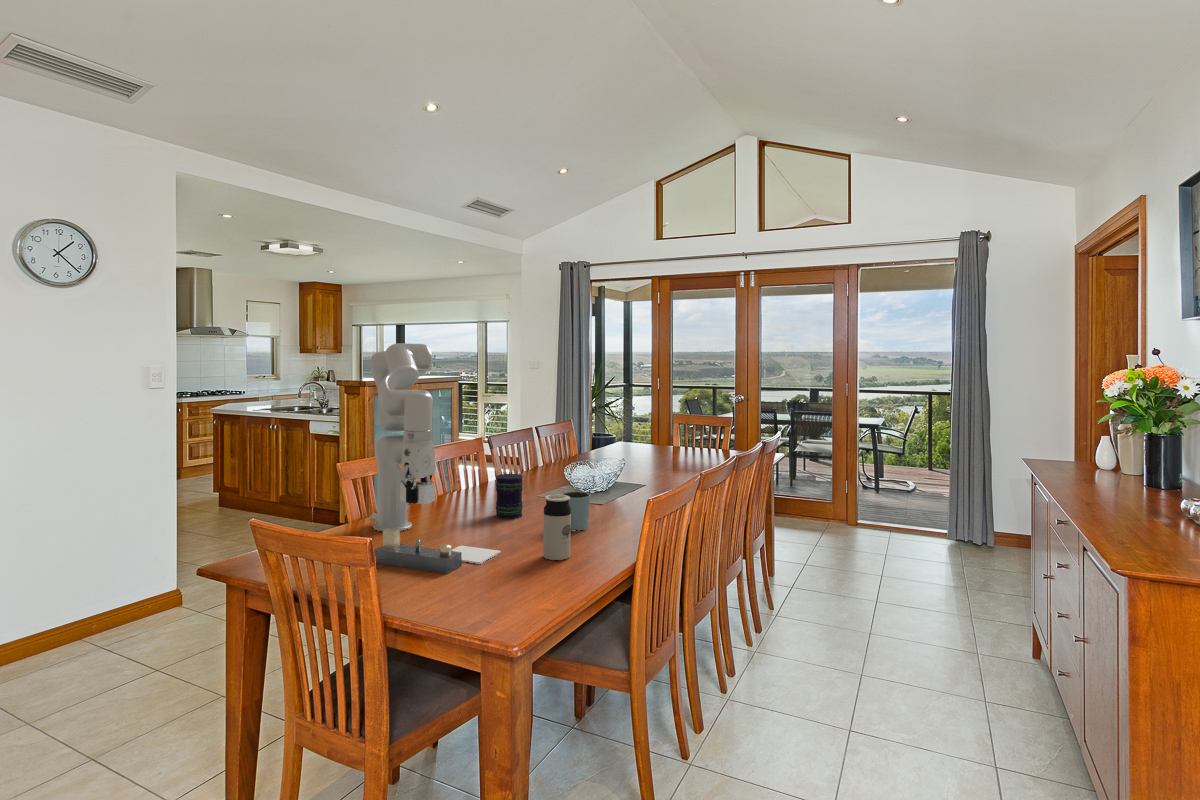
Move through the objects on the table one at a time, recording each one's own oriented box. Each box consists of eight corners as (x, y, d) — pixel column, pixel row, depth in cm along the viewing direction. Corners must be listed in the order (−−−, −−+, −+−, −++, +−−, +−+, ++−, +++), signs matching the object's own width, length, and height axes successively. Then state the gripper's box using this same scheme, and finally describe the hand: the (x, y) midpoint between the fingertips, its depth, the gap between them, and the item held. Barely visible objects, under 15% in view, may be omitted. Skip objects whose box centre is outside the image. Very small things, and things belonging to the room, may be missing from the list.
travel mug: (537, 556, 191) (538, 496, 190) (559, 551, 196) (560, 493, 195) (553, 563, 185) (554, 501, 184) (575, 557, 190) (576, 497, 189)
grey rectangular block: (400, 501, 179) (400, 483, 179) (411, 497, 184) (411, 480, 183) (424, 504, 176) (424, 486, 176) (435, 500, 181) (435, 483, 181)
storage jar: (492, 514, 241) (492, 474, 240) (517, 511, 245) (518, 473, 244) (499, 520, 232) (500, 479, 231) (525, 518, 236) (526, 477, 235)
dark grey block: (374, 562, 182) (374, 531, 181) (390, 555, 188) (390, 525, 188) (447, 574, 174) (447, 541, 173) (461, 566, 180) (461, 534, 180)
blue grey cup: (591, 525, 227) (592, 491, 227) (588, 533, 217) (588, 498, 217) (563, 524, 228) (563, 490, 228) (558, 531, 218) (559, 496, 218)
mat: (438, 558, 187) (438, 556, 187) (460, 547, 198) (460, 545, 198) (480, 564, 182) (480, 562, 182) (500, 552, 193) (500, 550, 193)
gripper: (410, 441, 169) (410, 508, 171) (446, 433, 185) (446, 496, 187) (386, 439, 172) (386, 505, 173) (424, 432, 188) (424, 493, 189)
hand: (417, 500), depth 180 cm, fingers closed on grey rectangular block, 5 cm apart
